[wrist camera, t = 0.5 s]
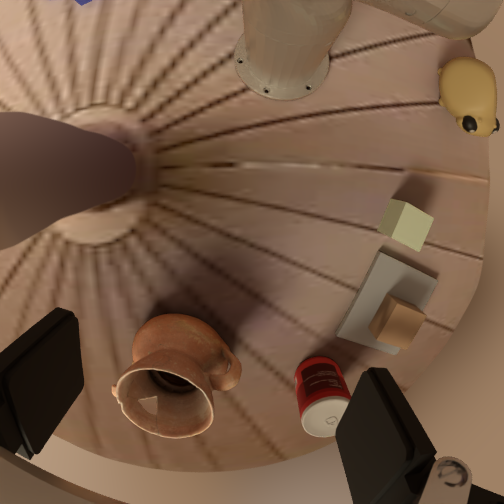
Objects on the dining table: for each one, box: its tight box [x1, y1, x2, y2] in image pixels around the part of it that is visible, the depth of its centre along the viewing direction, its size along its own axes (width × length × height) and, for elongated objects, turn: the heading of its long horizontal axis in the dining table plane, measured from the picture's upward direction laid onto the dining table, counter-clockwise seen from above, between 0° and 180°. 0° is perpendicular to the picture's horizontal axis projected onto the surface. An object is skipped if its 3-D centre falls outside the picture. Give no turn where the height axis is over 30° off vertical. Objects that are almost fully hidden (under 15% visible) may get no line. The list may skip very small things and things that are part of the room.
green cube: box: [377, 199, 434, 252], centre depth 39 cm, size 5×5×5 cm
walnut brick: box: [368, 293, 427, 350], centre depth 42 cm, size 6×6×4 cm
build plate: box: [335, 251, 438, 355], centre depth 44 cm, size 14×12×1 cm
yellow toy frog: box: [438, 57, 500, 137], centre depth 31 cm, size 10×12×11 cm
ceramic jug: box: [112, 314, 242, 438], centre depth 39 cm, size 18×14×14 cm
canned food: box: [294, 356, 351, 437], centre depth 42 cm, size 8×8×11 cm
